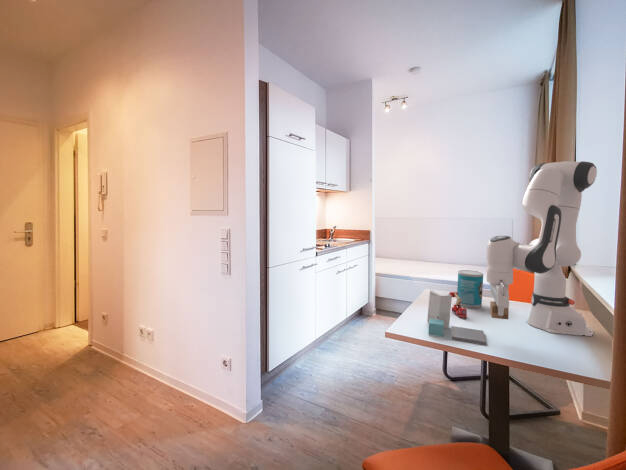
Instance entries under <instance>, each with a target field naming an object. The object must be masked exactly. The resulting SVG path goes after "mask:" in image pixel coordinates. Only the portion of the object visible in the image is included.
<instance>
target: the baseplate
mask: <svg viewBox="0 0 626 470" xmlns="http://www.w3.org/2000/svg"><path fill="white" fill-rule="evenodd" d="M450 333H451V340H452V341H453V340H454V341H458V342H459V341H460V342H466V343H471V344H477V343H478V345H484V346H487V339H486V336H485V333H484V330H481V329H474V328H467V327H461V326H455V325H451V332H450Z"/></svg>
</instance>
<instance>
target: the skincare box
mask: <svg viewBox="0 0 626 470" xmlns="http://www.w3.org/2000/svg"><path fill="white" fill-rule="evenodd" d="M452 299H453V297H452V295H450V294H449V293H448V292H445V291H443V290H440V289H435V290H430V291H429V298H428V309H427V310H428V311H427V318H426V319H427V320H426V321H427V324H429V319H436V320H443V321H444V323H443V329H446V328H450V321H451V319H450V318H451V311H452Z"/></svg>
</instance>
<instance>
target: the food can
mask: <svg viewBox="0 0 626 470" xmlns="http://www.w3.org/2000/svg"><path fill="white" fill-rule="evenodd" d="M483 288H484V273H483V272H481V271H478V270H470V269H461V270H458V274H457V288H456V289H457V290H456V292H457V293H458V297H459V298H461V301H462V302H461V303H460V305H461V307H462V308H465V309H472V308H473V309H476V308H477V309H481V308H482V305H483V303H482V302H483V291H484V289H483ZM480 307H481V308H480Z"/></svg>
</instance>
